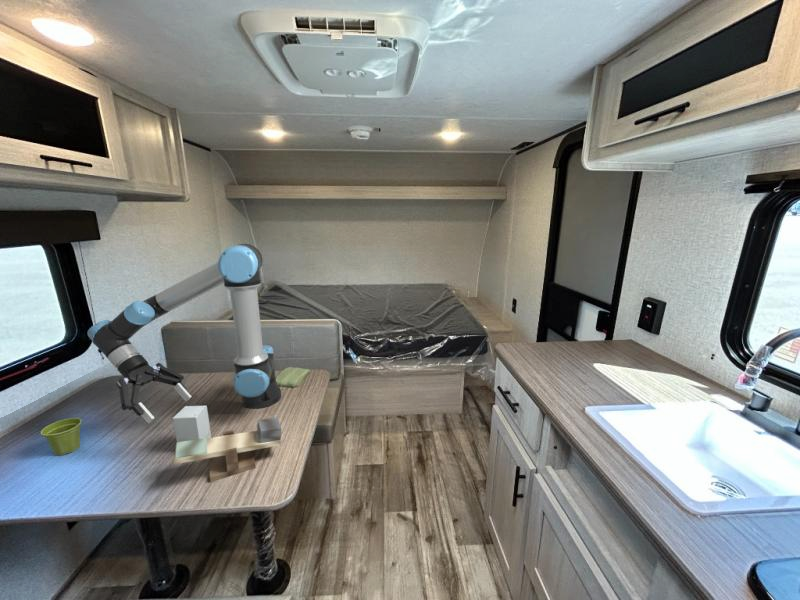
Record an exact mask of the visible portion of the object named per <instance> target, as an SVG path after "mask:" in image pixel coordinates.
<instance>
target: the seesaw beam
mask: <svg viewBox="0 0 800 600" xmlns="http://www.w3.org/2000/svg"><path fill="white" fill-rule="evenodd" d="M282 429H283V428H282V426H281V424H280V421H279V419H278V417H277V416H276V417H270V418H264V419H258V420H257V427H256V430H252V431H246V432H240V433H239V432H238V433H234V434H232V435H226V436H223V435H221V436H219V435H218V436H213V437H211V438H203V439H196V440H190V441H183V442H177V441H176V443H175V449H174V460H173V463H174V464H173V465H177V464H183V463H184V464H185V463H189V462H190V463H191V462H195V461H199V460H200V461H201V460H206V459H209V458H212V457H218V456H223V455H225V451H226V450H229V449H233V448H236V449H237V453H240V452H245V451H251V450H252V451H255V450H261V449H268V448H273V447H277V446H281V444H282Z"/></svg>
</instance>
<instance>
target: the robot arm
mask: <svg viewBox="0 0 800 600" xmlns="http://www.w3.org/2000/svg"><path fill="white" fill-rule="evenodd" d="M263 259H264V258H263V256H262V253H261V251H260V250H259V249H258V248H257V247H256V246H254V245H251V244H248V243H241V244H239V243H238V244H237V245H232V246H229V247H227V248H226V249H225V250H224V251H223V252H222V253H221V254H220V256H219V258H218V261H217V262H216V263H214V264H212V265H210V266H208V267H206V268H205V269H202V270H201V271H198V272H196V273H195V274H192V275H191V276H189V277H187V278H185V279H183V280H181V281H179V282H177V283H175V284H174V285H172V286H170V287H168V288H166V289H164V290H162V291H160V292H158V293H157V294H155V295H153V296H150V297H148V298H147V299H144V300H142V301H140V300H136V301H133V302H132V303H130V304H129V305H127V306H126V307H125V309H123V310H122V311H121V312H120V313H119V314H118V315H117V316H116V317H114V318H113V320H110V319H109V320H107V319H106V320H102V321H99V322H97V323H96V324H94V325H92V326H91V327H89V329H88V330H87V336H88V338H89V340H91V343H92V344H93V345H95V346H96V347H97V348H98V349H99V350H100V352H101V353H103V355H104V356H105V357H106V359H108V361H109V362H110V363H111V364H112V365H113V367H114V368H117V369H116V370H117V371H118V372H119V374H120V375H121V376H122V377H120V378H119V379H118V380H117V382H116V383H115V385H116V386H117V387H118V390H119V396H120V404H121V409H122V410H123V411H126V410H129V411H133V412H134V413H135V414H136V416H139V417H142V418H143V419H144V420H145V422H147V424H150V423H152V422H153V420H154V419H155V416H154V415H153V414H152V413H151V412H150V411H149V409H148V408H146V406H145V405H144V404H143V403H142V402H139V403H138V401H139V395H140V388H141V387H143V386H145V385H146V384H149V383H151V382H158V383H162V384H165V385H170V386H173V389H174V390H175V391H176V392H177V393H178V395H180V397H181V398H182V399H183V401H185V403H186V402H189V400H190V399H191V398H192V395H191V394H190V393H189V392H188V391H187V387H186V386H185V385H184V383H183V382H182V381H183V380H184V379H185V376H184V375H182V374H180V373H178V372H176V371H174V370H171V369H170V368H168V367H166V366H164V365H163V364H162V363H160V362H156V364H155V365H154V366H152V365H150V364H149V362H148V361H147V359H146V358H145V357H144V355H142V354H141V353H140V351H139V350H138V349H137V348H136V346H134V344H133V343H131V341H130V339H131V338H132V337H134V335H136V333H137V332H139V331H140V330H141V329H143V327H145V326H147V325H149V324H150V323H152V322H153V321H154V320H155V321H156V319H158V318H160V317H162V316H164V315H166V314H168V313H170V312H171V311H173V310H175V309H177V308H179V307H181V306H182V305H185V304H187V303H189V302H191V301H192V300H194V299H196V298H198V297H200V296H202V295H204V294H205V293H207V292H210V291H211V290H213V289H215V288H217V287H219V286H221V285H224V287H225V288H226V289H227V290H228V291H229V292H230V301H231V309H232V311H231V312H232V316H233V325H234V333H235V334H234V335H235V341H236V350H237V352H236V353H237V356H236V357H235V358H234V359H233V364H234V365H233V366H234V374H235V375H234V377H233V381H232V385H233V390H234V391H235V392H236V393H237V394H238V395H241V396H242V398H241V400H242V405H243V407H246V408H249V409H262V408H268V407H270V406H272V405H275V404H276V403H278V402H279V401H280V400H281V399H282V390H281V388H280V386H278V384H277V381H276V369H275V368H276V367H275V352H274V348H273V347H272V346H271V345H267V344H264V345H263V334H262V325H261V316H260V315H261V314H260V306H259V296H258V288H259V287H260V286H261V284H262V280H261V270H260V269H261V268H262V265H263V262H264V261H263ZM128 383H129V384H132V388H131V397H130V394H129V388H128Z"/></svg>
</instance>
